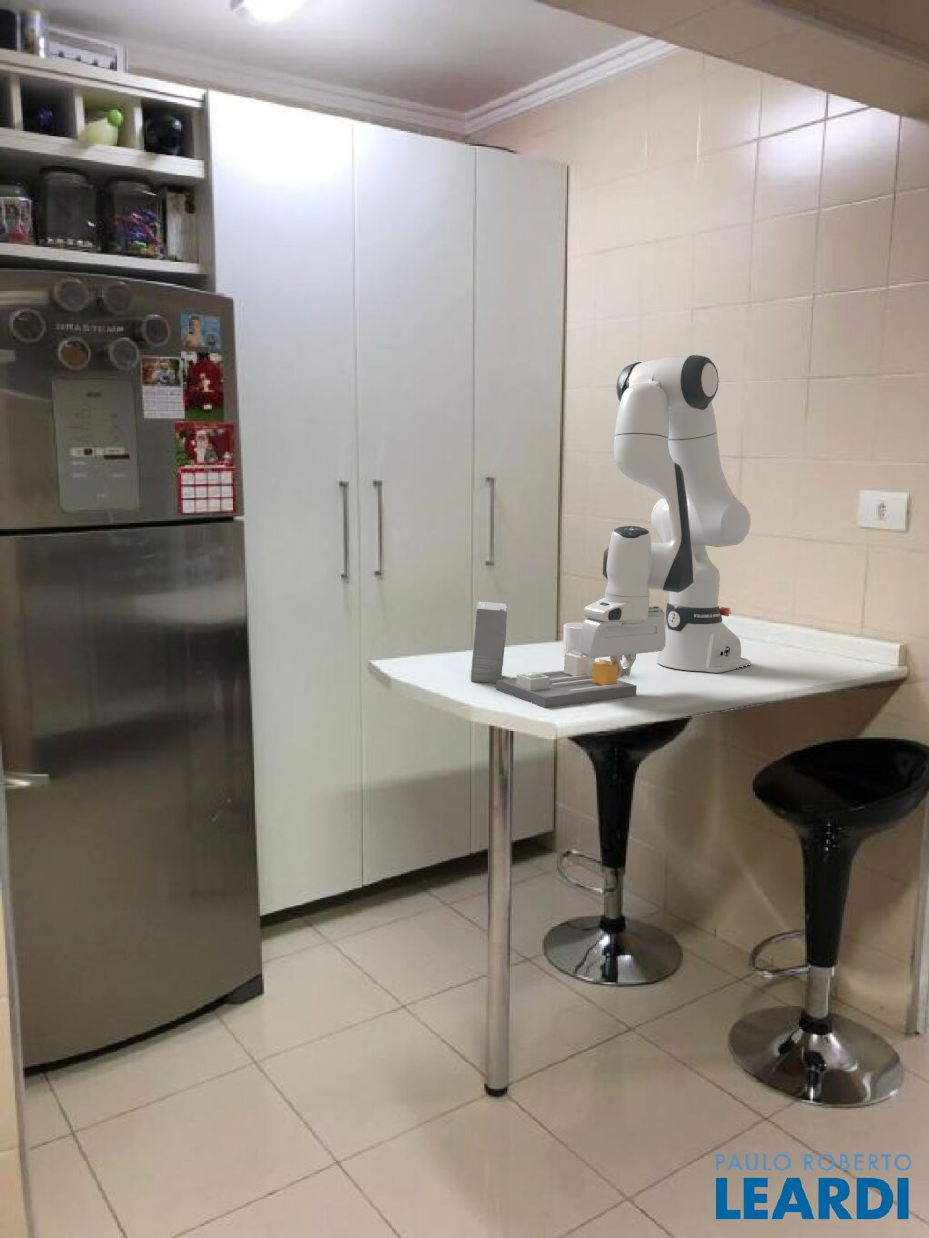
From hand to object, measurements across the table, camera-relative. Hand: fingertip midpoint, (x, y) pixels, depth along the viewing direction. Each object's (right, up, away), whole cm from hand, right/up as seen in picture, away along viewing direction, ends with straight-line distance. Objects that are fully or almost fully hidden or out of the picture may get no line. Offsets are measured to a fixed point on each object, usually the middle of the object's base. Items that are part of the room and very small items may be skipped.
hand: (621, 675), depth 202 cm
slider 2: (-4, -2, -2) cm, 5 cm away
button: (-18, -1, -6) cm, 20 cm away
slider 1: (-9, 0, +5) cm, 10 cm away
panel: (-11, -3, -1) cm, 12 cm away
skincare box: (-27, -1, +9) cm, 28 cm away
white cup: (-6, 0, +21) cm, 22 cm away
